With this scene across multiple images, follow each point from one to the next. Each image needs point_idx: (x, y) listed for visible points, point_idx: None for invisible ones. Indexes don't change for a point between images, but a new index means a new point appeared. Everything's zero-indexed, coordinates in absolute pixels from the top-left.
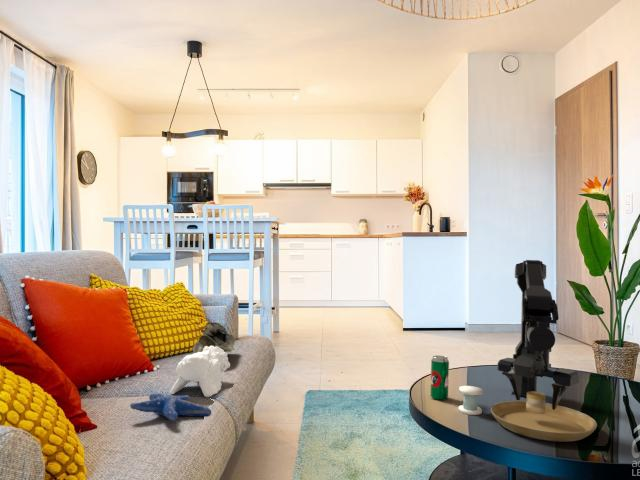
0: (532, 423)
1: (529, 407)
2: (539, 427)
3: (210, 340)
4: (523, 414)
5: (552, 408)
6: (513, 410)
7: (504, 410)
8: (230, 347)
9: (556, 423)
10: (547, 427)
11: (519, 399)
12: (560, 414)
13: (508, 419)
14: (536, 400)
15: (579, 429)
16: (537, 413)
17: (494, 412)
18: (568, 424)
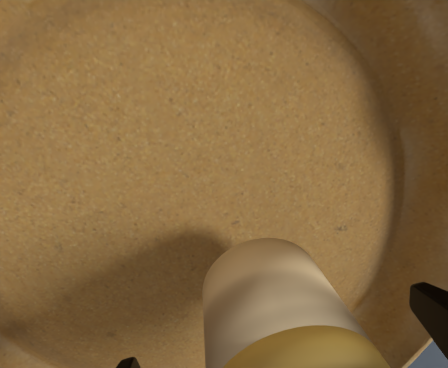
0: (232, 212)
1: (278, 259)
2: (169, 195)
3: None
4: (342, 275)
5: (129, 363)
6: (398, 266)
7: (426, 214)
8: None
9: (178, 317)
10: (152, 236)
11: (412, 304)
12: None
13: (344, 136)
14: (238, 340)
15: (74, 349)
16: (217, 262)
17: (445, 87)
18: (146, 353)
